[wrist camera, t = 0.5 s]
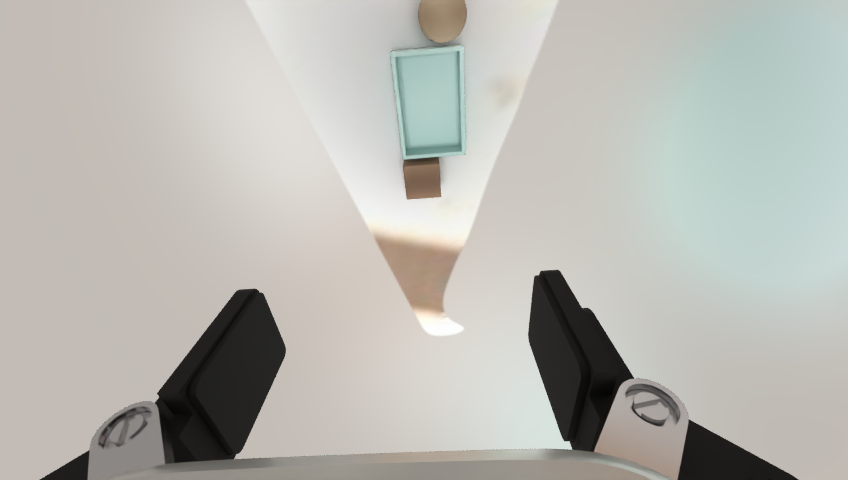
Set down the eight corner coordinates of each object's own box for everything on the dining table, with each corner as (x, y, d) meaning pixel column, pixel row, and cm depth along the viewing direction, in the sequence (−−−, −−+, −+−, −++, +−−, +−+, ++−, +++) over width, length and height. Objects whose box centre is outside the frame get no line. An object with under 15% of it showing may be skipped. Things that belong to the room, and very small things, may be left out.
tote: (392, 50, 34) (390, 52, 32) (460, 44, 34) (463, 45, 31) (404, 151, 40) (402, 159, 37) (462, 146, 40) (465, 154, 37)
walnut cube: (404, 154, 40) (402, 166, 37) (437, 152, 40) (438, 163, 37) (408, 185, 42) (406, 199, 39) (439, 183, 42) (441, 196, 39)
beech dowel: (417, -7, 32) (416, -13, 27) (459, -11, 32) (466, -19, 26) (421, 42, 34) (420, 44, 29) (460, 38, 34) (466, 40, 29)
